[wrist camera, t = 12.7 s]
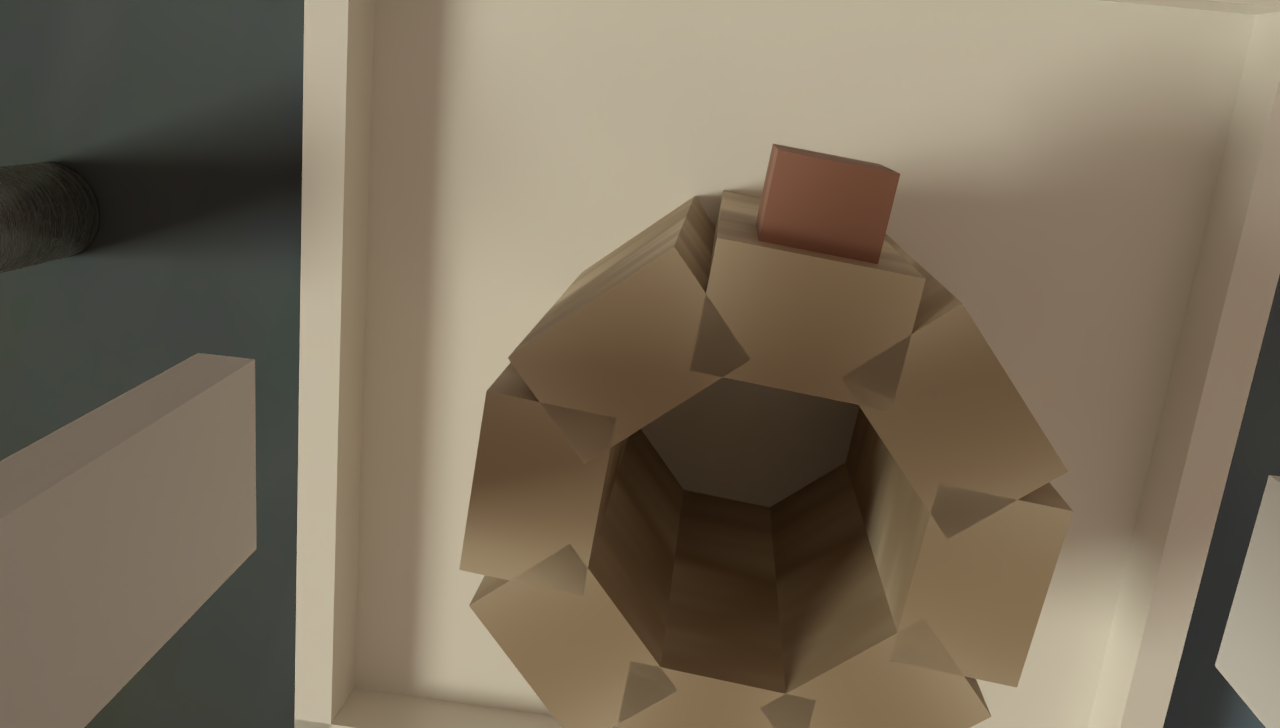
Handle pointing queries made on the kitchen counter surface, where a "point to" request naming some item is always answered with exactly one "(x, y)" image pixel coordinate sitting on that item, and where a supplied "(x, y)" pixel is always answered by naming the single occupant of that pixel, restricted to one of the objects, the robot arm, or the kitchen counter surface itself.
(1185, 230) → the tray
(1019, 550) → the ring
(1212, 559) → the kitchen counter surface
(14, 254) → the stake
